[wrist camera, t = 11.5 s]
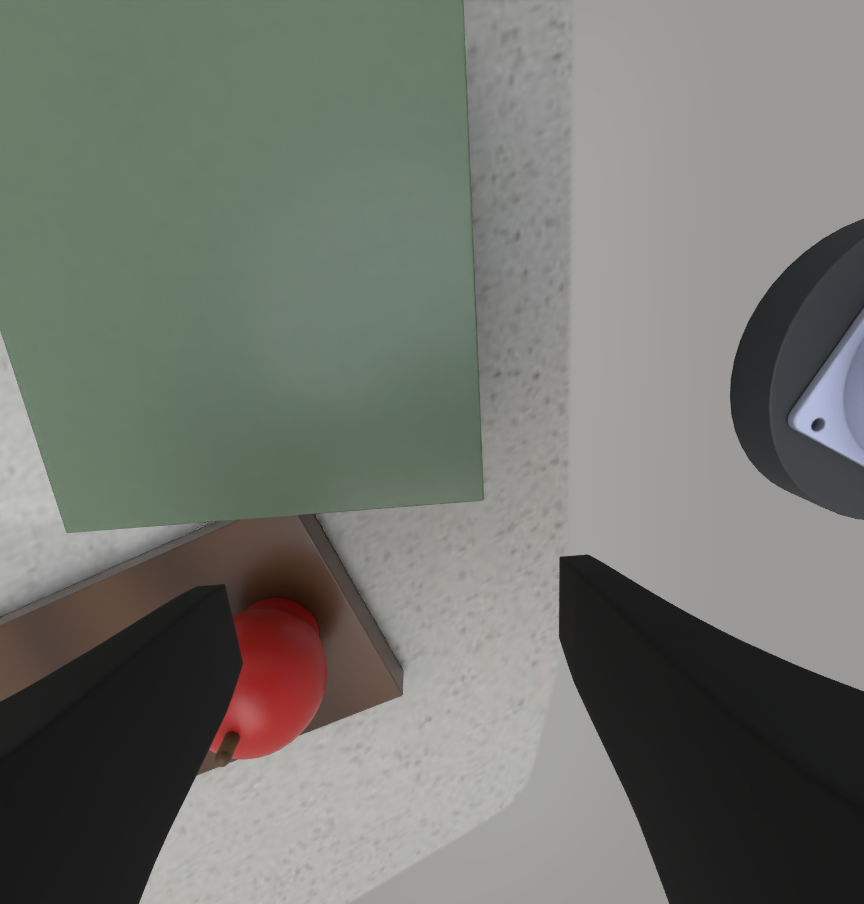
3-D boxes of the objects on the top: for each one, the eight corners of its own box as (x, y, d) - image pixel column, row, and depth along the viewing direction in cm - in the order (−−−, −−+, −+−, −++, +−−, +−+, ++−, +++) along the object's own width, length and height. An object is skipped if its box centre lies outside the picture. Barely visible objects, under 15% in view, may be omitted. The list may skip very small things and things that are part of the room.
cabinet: (102, 80, 15) (-145, -110, 9) (439, 58, 16) (457, -147, 9) (190, 458, 19) (65, 533, 12) (460, 438, 19) (484, 501, 13)
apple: (356, 607, 20) (330, 731, 14) (311, 694, 21) (269, 843, 15) (242, 562, 19) (162, 673, 13) (203, 656, 20) (113, 796, 14)
